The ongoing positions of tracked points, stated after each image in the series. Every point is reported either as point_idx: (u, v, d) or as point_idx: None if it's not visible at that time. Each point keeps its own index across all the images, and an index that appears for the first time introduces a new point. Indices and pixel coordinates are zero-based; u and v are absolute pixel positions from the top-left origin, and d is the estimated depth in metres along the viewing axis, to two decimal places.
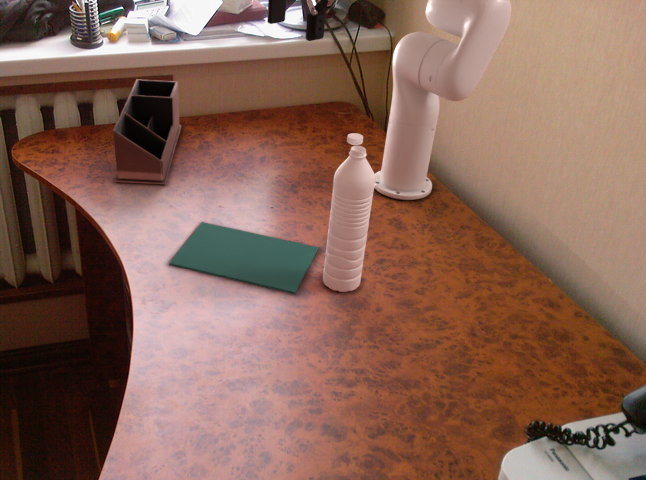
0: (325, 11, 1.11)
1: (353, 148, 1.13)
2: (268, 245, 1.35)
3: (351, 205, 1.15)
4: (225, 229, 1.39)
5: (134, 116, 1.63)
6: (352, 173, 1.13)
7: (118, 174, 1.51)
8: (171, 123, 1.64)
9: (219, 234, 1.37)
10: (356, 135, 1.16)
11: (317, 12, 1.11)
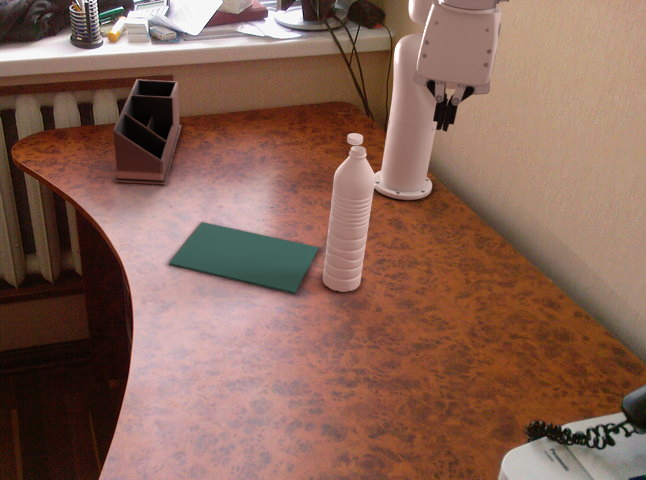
0: None
1: (353, 148, 1.13)
2: (268, 245, 1.35)
3: (351, 205, 1.15)
4: (225, 229, 1.39)
5: (134, 116, 1.63)
6: (352, 173, 1.13)
7: (118, 174, 1.51)
8: (171, 123, 1.64)
9: (219, 234, 1.37)
10: (356, 135, 1.16)
11: (460, 101, 1.04)
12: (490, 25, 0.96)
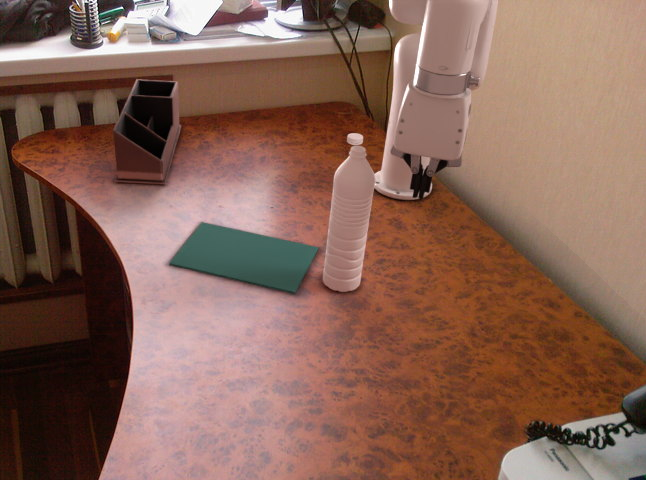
0: None
1: (353, 148, 1.13)
2: (268, 245, 1.35)
3: (351, 205, 1.15)
4: (225, 229, 1.39)
5: (134, 116, 1.63)
6: (352, 173, 1.13)
7: (118, 174, 1.51)
8: (171, 123, 1.64)
9: (219, 234, 1.37)
10: (356, 135, 1.16)
11: None
12: (460, 107, 1.03)
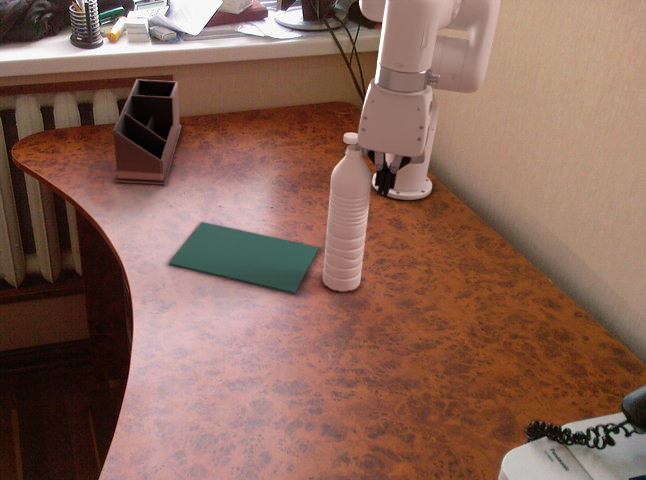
0: None
1: (349, 147, 1.13)
2: (268, 245, 1.35)
3: (348, 205, 1.15)
4: (225, 229, 1.39)
5: (134, 116, 1.63)
6: (349, 172, 1.13)
7: (118, 174, 1.51)
8: (171, 123, 1.64)
9: (219, 234, 1.37)
10: (352, 134, 1.16)
11: (398, 169, 1.13)
12: (421, 105, 1.05)
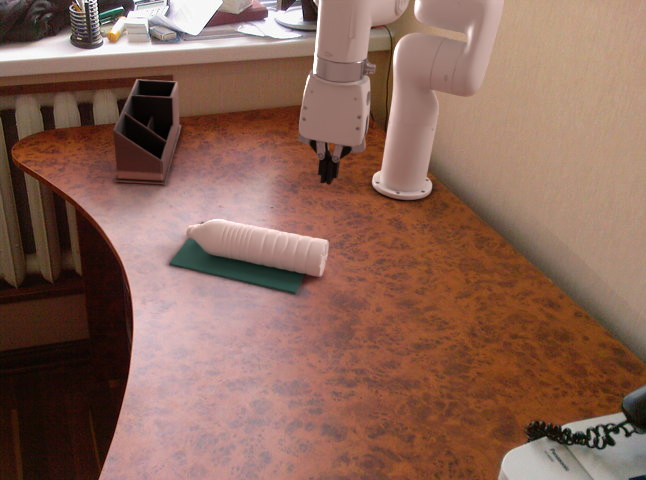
0: None
1: None
2: None
3: (226, 244, 1.27)
4: None
5: (134, 116, 1.63)
6: (200, 240, 1.29)
7: (118, 174, 1.51)
8: (171, 123, 1.64)
9: None
10: None
11: (339, 159, 1.15)
12: (358, 95, 1.07)
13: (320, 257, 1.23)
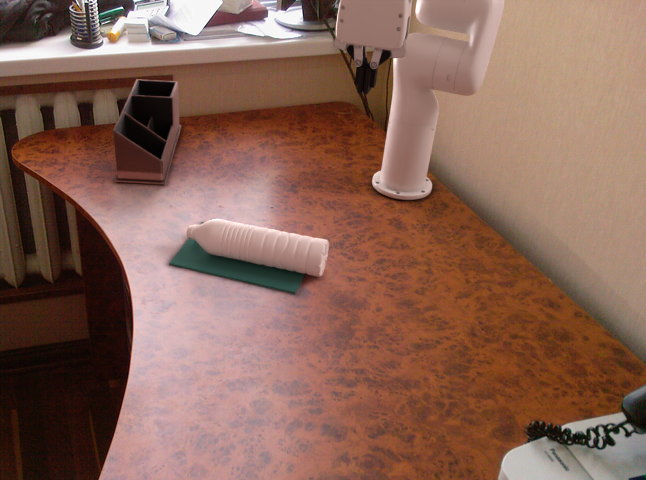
0: None
1: None
2: None
3: (226, 243, 1.27)
4: None
5: (134, 116, 1.63)
6: (200, 239, 1.29)
7: (118, 174, 1.51)
8: (171, 123, 1.64)
9: None
10: None
11: (378, 65, 1.09)
12: None
13: (320, 256, 1.23)
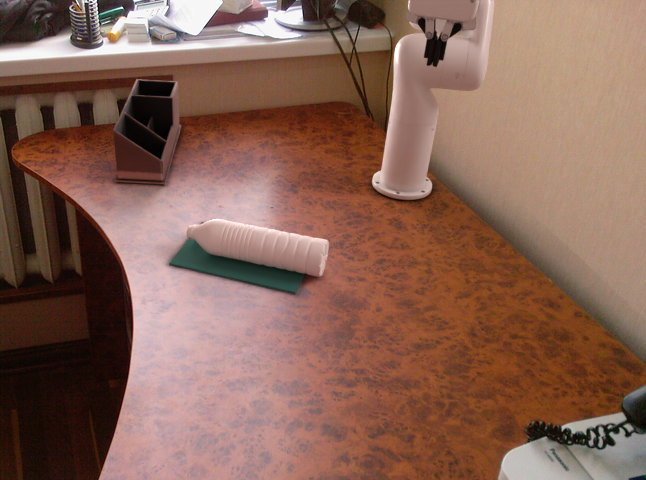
0: None
1: None
2: None
3: (226, 243, 1.27)
4: None
5: (134, 116, 1.63)
6: (200, 239, 1.29)
7: (118, 174, 1.51)
8: (171, 123, 1.64)
9: None
10: None
11: (448, 37, 1.11)
12: None
13: (320, 256, 1.23)
